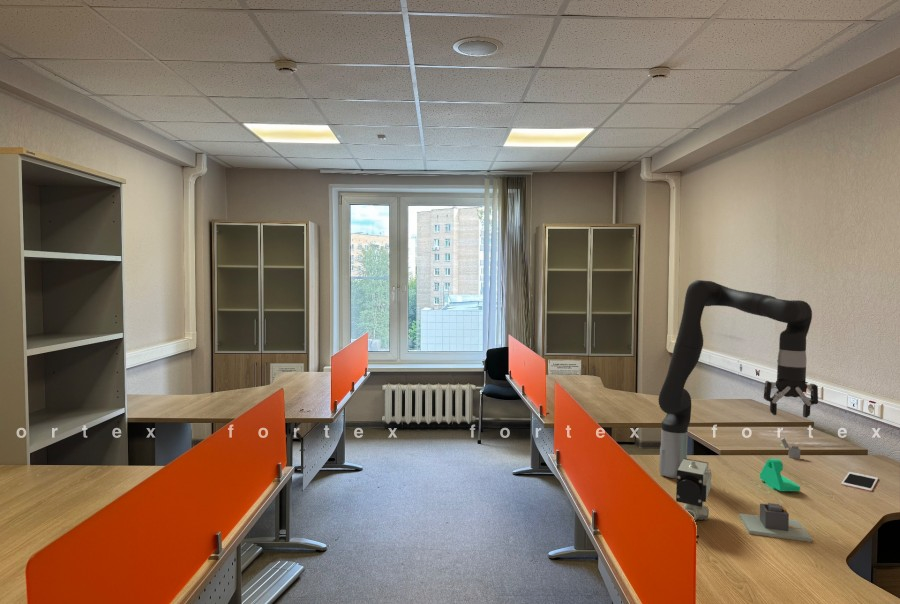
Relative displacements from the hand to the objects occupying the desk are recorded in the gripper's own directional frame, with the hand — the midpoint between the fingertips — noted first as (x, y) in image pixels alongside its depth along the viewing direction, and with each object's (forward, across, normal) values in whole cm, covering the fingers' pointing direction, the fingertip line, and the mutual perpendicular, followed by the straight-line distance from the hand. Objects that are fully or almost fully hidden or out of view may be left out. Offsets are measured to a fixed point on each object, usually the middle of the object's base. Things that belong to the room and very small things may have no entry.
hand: (789, 415), depth 166 cm
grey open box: (+31, -6, -10) cm, 33 cm away
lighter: (+32, +20, +66) cm, 76 cm away
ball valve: (+32, -28, -10) cm, 44 cm away
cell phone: (+33, +36, +43) cm, 65 cm away
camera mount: (+32, +6, +27) cm, 43 cm away
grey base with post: (+32, -6, -10) cm, 34 cm away
